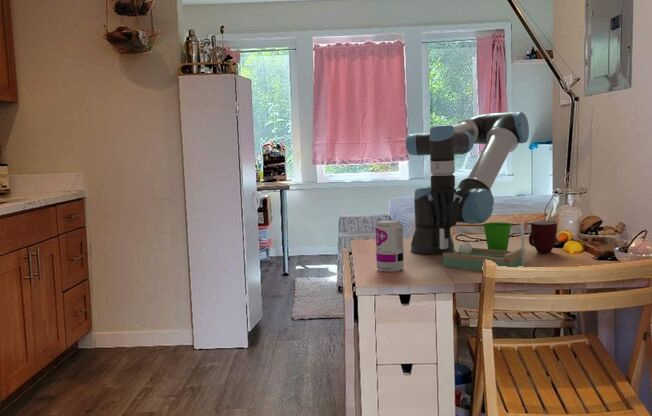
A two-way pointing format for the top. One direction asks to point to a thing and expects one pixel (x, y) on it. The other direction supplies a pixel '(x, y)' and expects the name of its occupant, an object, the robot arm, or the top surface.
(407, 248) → the top surface
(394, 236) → the supplement can
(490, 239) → the cup
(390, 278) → the top surface
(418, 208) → the robot arm
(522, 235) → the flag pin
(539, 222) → the mug
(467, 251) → the ball
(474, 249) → the green tray
